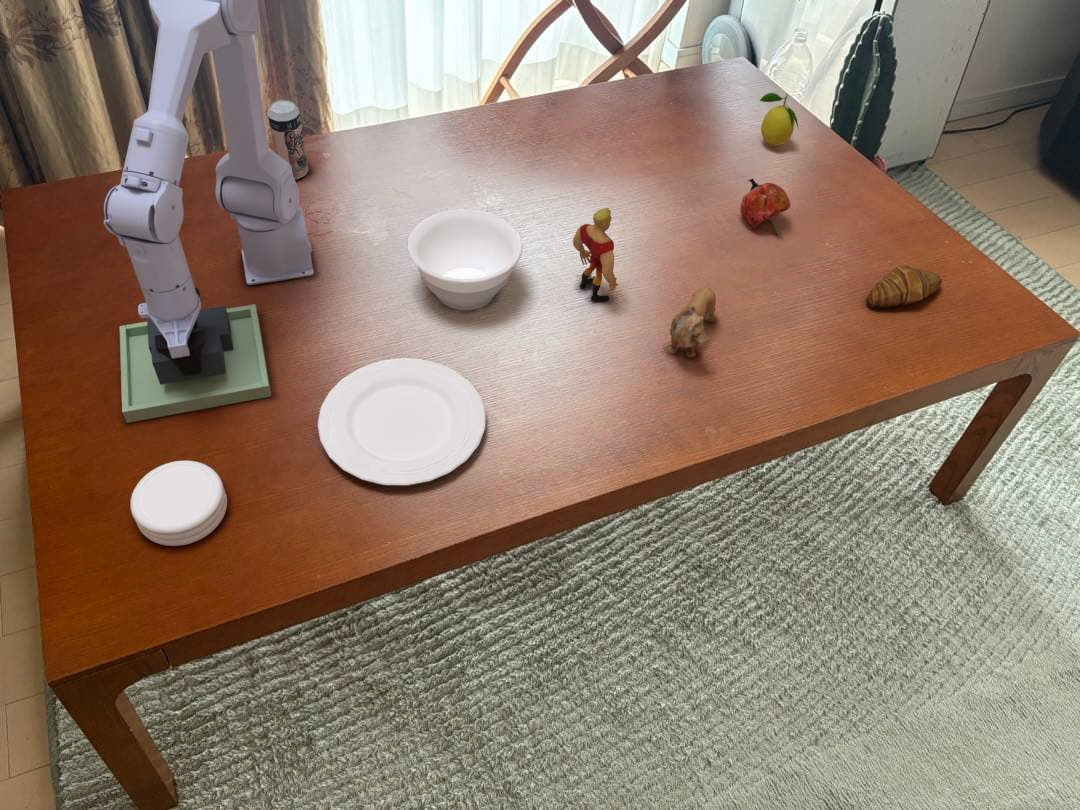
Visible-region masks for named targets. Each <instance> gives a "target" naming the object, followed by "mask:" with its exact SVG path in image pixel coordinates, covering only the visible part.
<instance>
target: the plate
mask: <svg viewBox="0 0 1080 810" xmlns="http://www.w3.org/2000/svg"><path fill="white" fill-rule="evenodd" d="M318 413H319V414H318V419H317V429H318V435H319V441H320V444H321V445H322V447H323V449H324V451H325V453H326V454H327V457H328V458H329V459H330V460H331V461H333V462H334V464H336V466H338V467H339V468H340V469H341V470H342V471H343V472H345V473H347V474H349V475H351V476H352V477H353V476H354V477H355V478H357V479H359V480H360V481H363V482H364V481H365V482H368V483H373V484H375V485H380V486H387V487H390V486H391V487H409V486H414V485H419V484H426V483H430V482H432V481H435V480H437V479H439V478H442V477H444V476H446V475H449V474H451V473H452V472H454V471H455V470H457V469H458V468H459V467H460V466H462V465H463V464H464V463H466V462H467V461H468V460H469V459H470V458H471V456H472V455H473V454H474V452H476V450H477V449H478V447H479V446H480V444H481V440H482V438H483V436H484V433H485V431H486V416H487V415H486V414H487V413H486V409H485V405H484V402H483V399H482V396H481V395H480V393H479V391H478V390H477V389H476V388H475V386H474V385H473V384H472V382H471V381H469V380H468V379H467V378H466V377H465V376H463V375H462V374H461V373H460V372H459V371H457V370H455V369H453V368H450V367H449V366H446V365H444V364H442V363H439V362H437V361H433V360H427V359H422V358H413V357H412V358H411V357H410V358H409V357H397V358H390V359H384V360H379V361H374V362H372V363H369V364H366V365H364V366H361V367H359V368H357V369H356V370H354V371H352V372H351V373H349V374H347V375H346V376H344V377H343V378H341V379H340V380H339V381H338V382H337V383H336V385H334V386H333V387H332V388H331V389H330V391H328V393H327V395H326V397H325V399H324V400H323V402H322V404H321V405H320V408H319V412H318Z"/></svg>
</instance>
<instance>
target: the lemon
mask: <svg viewBox="0 0 1080 810" xmlns="http://www.w3.org/2000/svg"><path fill="white" fill-rule="evenodd" d="M788 95H789V93H787V94H786V95H785V97H782V96H780V95H778V94H777V93H774V92H769V93H766V94H764V95H762V97H761V98H760V99H759V102H763V103H773V102H774V103H775V102H781V101H783V105H777V106H773V107H772V108H770V109H769V110H768V112H767V113H766V114H765V115H764V117H763V120H762V123H761V127H760V133H761V136H762V138H763V139H764V141H765V142H767V143H768V144H769V145H770V146H771V147H775V146H779V145H780V146H781V145H783V144H785V143H787V142H788V141H789V140H790V139H791V137H792V136H793V132H794V129H795V125H796V127H797V129H798V130H800V128H799V121H798V118H797V115H796V113H795V112H794V110H793V109H792V108H791V107H789V106H788V105H787V103H786V102H787V98H788Z"/></svg>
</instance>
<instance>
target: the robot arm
mask: <svg viewBox="0 0 1080 810" xmlns="http://www.w3.org/2000/svg"><path fill="white" fill-rule="evenodd" d="M148 5H149V9H150V12H151V15H152V18H153V20H154V22H155V24H156V26H157V28H158V31H157V40H156V47H155V54H154V62H153V70H152V77H151V85H150V93H149V99H148V106H147V107H148V108H147V111H146V112H145V113H143V114H142V115H140V116H138V117H137V118H135V119H134V121H133V124H132V128H131V133H130V138H129V141H128V147H127V151H126V155H125V158H124V159H125V160H124V164H123V168H122V173H121V178H120V182H119V184H118V185H115V186H113V187H112V188H111V189H110V190H108V192H107V195H106V197H105V200H104V204H103V215H104V220H103V225H104V227H105V228H106V230H107V231H108V232H109V233H110V234H112V235H114V236H116V237H117V239H118V242H119V245H120V246H122V247H124V248H125V249H126V251H127V253H128V256H129V259H130V262H131V264H132V267H133V270H134V273H135V275H136V278H137V281H138V284H139V287H140V289H141V292H142V295H143V298H144V302H142V303H140V304H138V306H137V309H138V310H137V311H138V316H139V318H140V319H148V318H150V319H151V320H152V321H153V323H154V324H155V326H156V327H157V329H158V330H159V331H160V333H161V334H162V335H156V336H154V337H155V346H156V349H157V351H158V352H159V353H160V354H163V355H165V356H166V357H168V358H169V359H170V360H171V361H172V362H173V363H174V364H175V365H176V367H177V368H178V369H179V371H180V372H181V373H182V374H183V375H184V376H190V375H196V374H200V373H201V350H202V348H203V346H204V343H205V335H204V331H199V332H193V333H191V331H192V328H197V317H198V314H199V312H200V310H202V302H201V301H202V300H201V293H200V292H201V291H200V290H199V288H197V287H196V286H195V285H194V281H193V277H192V273H191V271H190V268H189V264H188V261H187V257H186V255H185V251H184V248H183V244H182V241H181V237H180V234H179V233H180V230H181V227H182V224H183V221H184V215H185V214H184V211H185V210H184V204H183V194H184V193H183V188H182V187H180V181H181V178H182V173H183V168H184V164H185V159H186V155H187V150H188V147H189V141H190V135H189V132H188V131H187V129H186V127H185V125H184V124H183V119H184V117H185V113H186V109H187V106H188V104H189V100H190V97H191V94H192V91H193V88H194V85H195V82H196V79H197V75H198V73H199V72H198V71H199V69H200V66H201V63H202V59H203V57H204V54H207V53H209V52H211V54H212V61H213V66H214V72H215V78H216V83H217V90H218V95H219V101H220V107H221V113H222V114H221V115H222V119H223V125H224V132H225V137H226V143H227V149H228V152H227V153H226V154H224V155H223V156H222V157H221V158H220V160H219V161H218V163H217V164H216V166H215V177H216V178H215V188H214V189H215V190H214V195H215V199H216V202H217V204H218V207H219V209H221V210H222V211H223V212H226V213H228V215H229V218H230V220H232V221H233V222H234V221H235V223H236V227H237V231H238V235H239V239H240V240H239V241H240V244H241V247H242V249H241V251H240V252H241V257H242V263H243V270H244V277H245V283H246V285H248V286H254V285H261V284H267V283H274V282H281V281H286V280H287V281H288V280H293V279H300V278H306V277H311V276H314V274H315V272H314V267H313V262H312V253H313V250H312V243H311V240H309V237H308V231H307V226H306V220H305V216H304V212H303V208H302V206H299V203H300V190H299V185H298V184H297V182H296V179H294V177H293V172H292V166H291V165H290V164H289V163H288V162H286V161H285V160H284V159H282V158H281V157H280V156H279V155H277V154H276V153H275V151H273V150H272V149H271V147H270V144H269V142H270V141H269V135H268V127H267V121H266V114H265V112H266V111H265V106H264V105H265V104H264V98H263V91H262V84H261V83H262V82H261V76H260V70H259V69H260V68H259V62H258V55H257V47H256V46H257V45H256V39H255V36H258V35H261V19H260V13H259V5H258V0H148Z"/></svg>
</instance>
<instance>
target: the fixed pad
mask: <svg viewBox="0 0 1080 810" xmlns="http://www.w3.org/2000/svg"><path fill="white" fill-rule="evenodd" d="M226 309H227V307H226V305H224V306H218V307H210V308H204V309H200V312H199V314H198V317H197V328H198V327H204V326H210V325H217V329H218V332H219V336H220V339H221V343H222V346H223V351H229V350H233V343H232V335H231V328H230V322H229V318H228V314H227V310H226ZM146 322H147V327H148V345H149V350H150V352H151V335H155V334H161V333H160V331H159V330H158V329H157V327H156V326H155V324H154V323H153V321H152V320H151V319H150V318H146ZM151 355H152V352H151Z"/></svg>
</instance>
